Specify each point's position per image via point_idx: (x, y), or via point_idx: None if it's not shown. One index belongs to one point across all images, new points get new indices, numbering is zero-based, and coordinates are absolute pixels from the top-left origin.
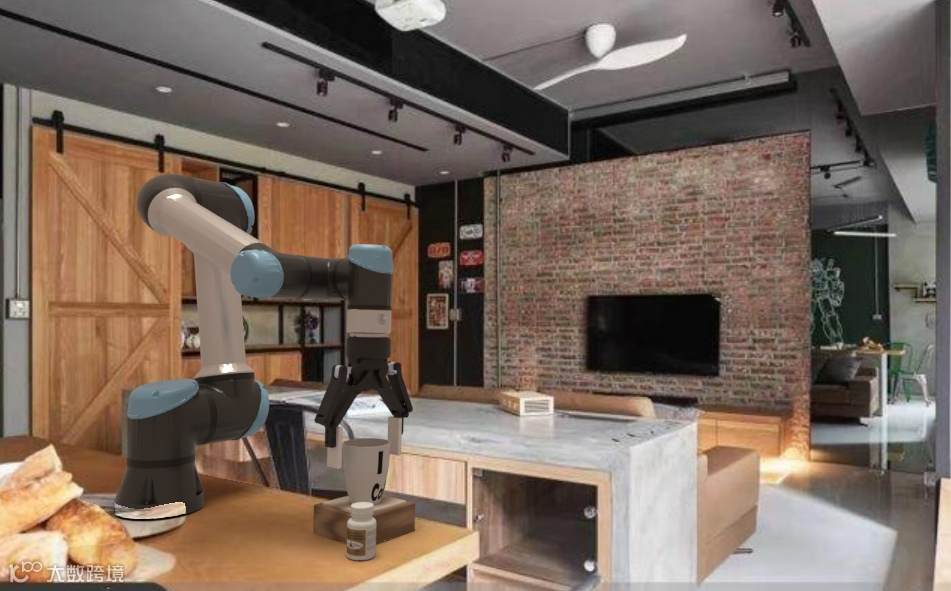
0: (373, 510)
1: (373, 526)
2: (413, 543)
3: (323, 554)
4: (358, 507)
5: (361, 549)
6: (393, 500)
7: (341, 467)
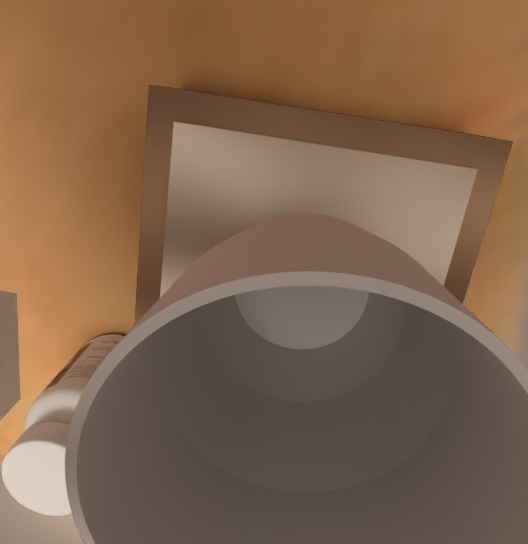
0: None
1: None
2: None
3: (57, 272)
4: (11, 487)
5: None
6: None
7: (16, 401)
